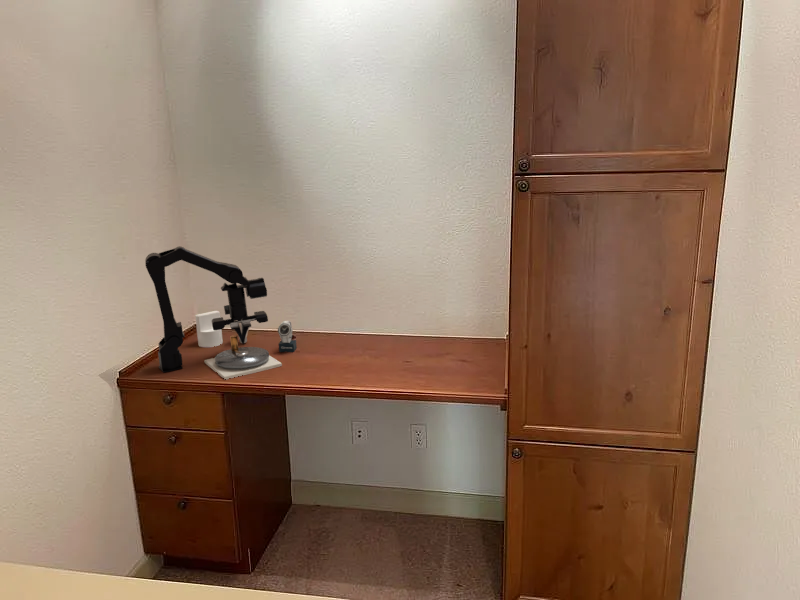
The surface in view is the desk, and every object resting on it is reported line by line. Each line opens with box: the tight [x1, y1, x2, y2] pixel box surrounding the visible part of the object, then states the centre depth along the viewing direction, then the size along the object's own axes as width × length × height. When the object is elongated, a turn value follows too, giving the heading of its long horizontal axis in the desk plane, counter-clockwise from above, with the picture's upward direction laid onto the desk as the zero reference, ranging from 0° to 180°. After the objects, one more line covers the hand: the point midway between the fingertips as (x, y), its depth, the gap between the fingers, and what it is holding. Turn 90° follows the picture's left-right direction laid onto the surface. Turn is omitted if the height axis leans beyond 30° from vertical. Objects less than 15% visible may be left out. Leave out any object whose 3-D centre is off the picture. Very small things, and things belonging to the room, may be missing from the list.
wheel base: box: [204, 354, 283, 380], centre depth 209 cm, size 20×20×2 cm
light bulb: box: [237, 320, 251, 344], centre depth 230 cm, size 7×7×11 cm
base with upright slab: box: [194, 310, 224, 348], centre depth 230 cm, size 9×9×12 cm
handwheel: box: [214, 335, 270, 369], centre depth 208 cm, size 18×18×6 cm
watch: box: [277, 320, 298, 353], centre depth 221 cm, size 6×8×11 cm
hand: (243, 343), depth 214 cm, fingers closed
